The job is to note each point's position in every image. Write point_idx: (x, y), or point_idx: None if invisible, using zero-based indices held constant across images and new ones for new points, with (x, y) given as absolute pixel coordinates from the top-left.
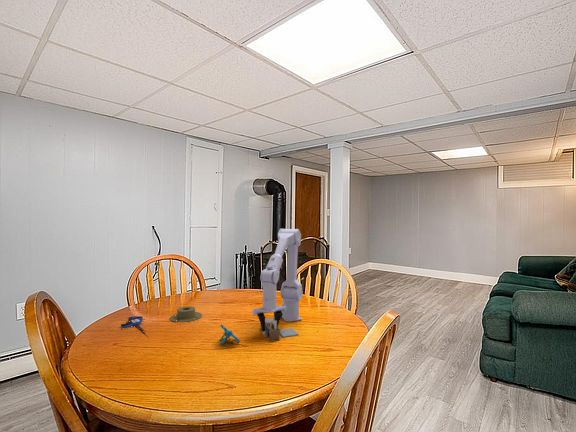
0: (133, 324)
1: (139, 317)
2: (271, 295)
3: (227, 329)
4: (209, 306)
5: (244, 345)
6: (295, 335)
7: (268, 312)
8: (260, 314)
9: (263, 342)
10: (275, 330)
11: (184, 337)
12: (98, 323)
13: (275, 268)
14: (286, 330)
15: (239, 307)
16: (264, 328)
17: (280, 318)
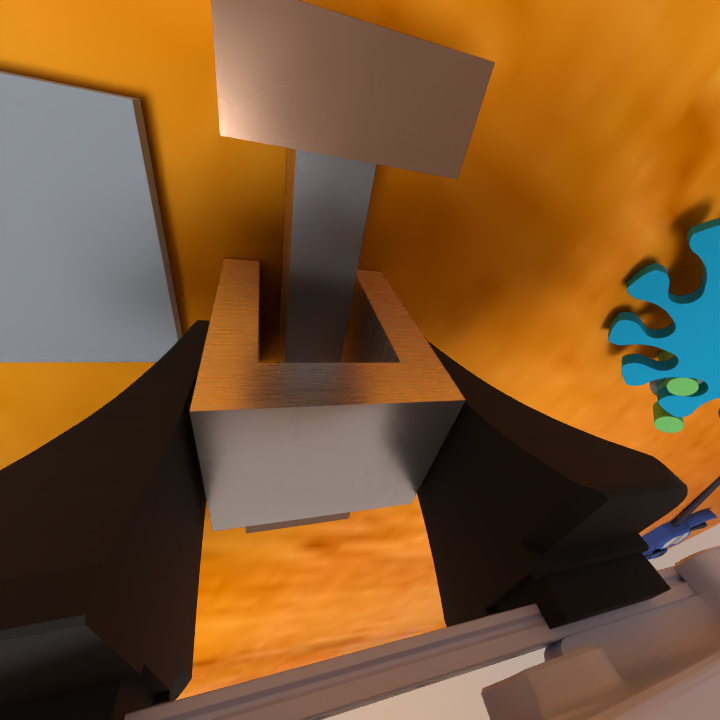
0: (687, 525)
1: (650, 554)
2: None
3: (687, 409)
4: (411, 618)
5: (686, 154)
6: None
7: (413, 651)
8: (612, 568)
9: (498, 105)
10: (349, 37)
11: (703, 429)
12: (694, 534)
13: None
14: (26, 317)
15: (310, 628)
16: None
17: (35, 454)
